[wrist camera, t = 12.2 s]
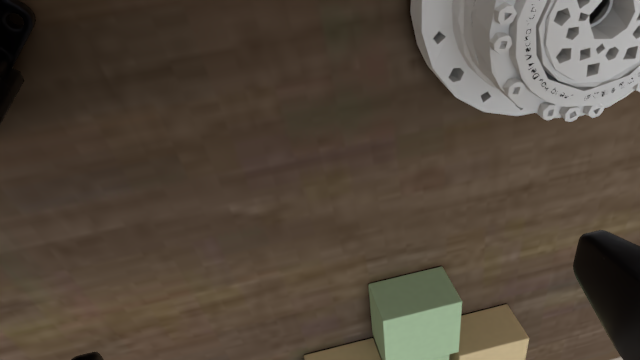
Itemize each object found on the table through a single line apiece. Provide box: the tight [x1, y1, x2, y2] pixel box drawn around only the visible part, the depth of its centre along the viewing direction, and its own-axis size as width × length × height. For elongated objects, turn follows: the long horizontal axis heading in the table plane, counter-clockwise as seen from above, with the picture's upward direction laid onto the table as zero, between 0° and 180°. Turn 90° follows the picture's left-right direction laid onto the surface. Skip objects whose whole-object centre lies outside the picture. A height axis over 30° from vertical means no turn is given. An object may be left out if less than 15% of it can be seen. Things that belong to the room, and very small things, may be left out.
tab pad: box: [368, 266, 462, 360], centre depth 29 cm, size 7×4×2 cm, turn 6°
